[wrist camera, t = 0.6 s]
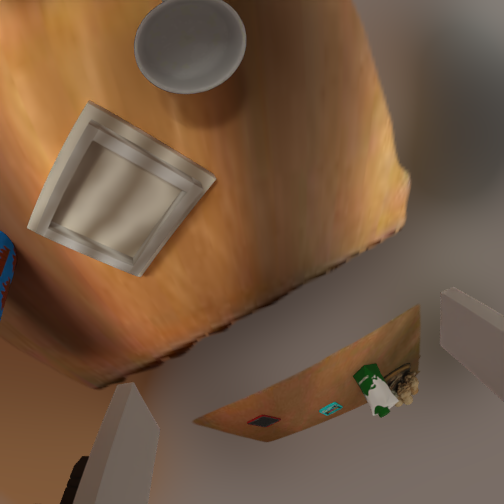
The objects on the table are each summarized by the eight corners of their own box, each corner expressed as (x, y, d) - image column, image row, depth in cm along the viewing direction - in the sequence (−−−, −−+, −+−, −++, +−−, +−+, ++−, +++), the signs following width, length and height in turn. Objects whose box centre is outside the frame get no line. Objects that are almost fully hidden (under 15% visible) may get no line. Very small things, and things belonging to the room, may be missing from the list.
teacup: (233, 72, 35) (253, 83, 30) (147, 92, 34) (147, 107, 28) (218, -29, 26) (235, -42, 20) (124, -11, 24) (118, -21, 19)
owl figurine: (379, 387, 134) (394, 416, 121) (374, 382, 126) (391, 413, 114) (411, 366, 131) (428, 394, 118) (408, 359, 123) (427, 390, 110)
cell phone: (265, 425, 119) (266, 427, 118) (245, 421, 109) (246, 424, 109) (280, 417, 118) (281, 419, 117) (262, 413, 108) (263, 415, 107)
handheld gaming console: (335, 402, 123) (343, 407, 134) (334, 400, 124) (342, 406, 134) (318, 411, 125) (327, 416, 135) (317, 409, 125) (326, 414, 135)
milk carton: (363, 364, 105) (389, 409, 91) (379, 361, 109) (404, 404, 95) (349, 377, 110) (373, 421, 95) (365, 374, 114) (388, 416, 99)
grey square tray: (29, 222, 38) (23, 236, 36) (89, 100, 32) (84, 106, 29) (140, 270, 51) (141, 286, 48) (214, 174, 44) (219, 186, 41)
